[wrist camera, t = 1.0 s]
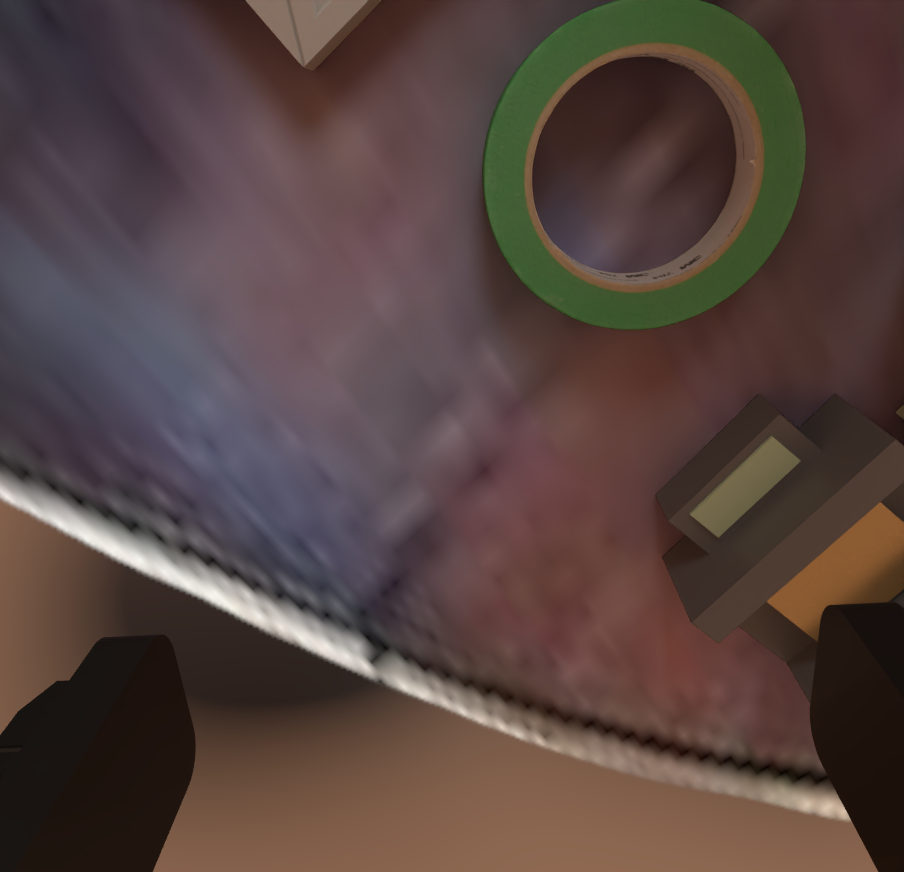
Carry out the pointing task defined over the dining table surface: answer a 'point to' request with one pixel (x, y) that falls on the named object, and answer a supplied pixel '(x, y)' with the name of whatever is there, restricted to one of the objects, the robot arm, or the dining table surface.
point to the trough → (900, 412)
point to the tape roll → (755, 179)
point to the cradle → (773, 516)
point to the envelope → (312, 24)
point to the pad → (848, 571)
